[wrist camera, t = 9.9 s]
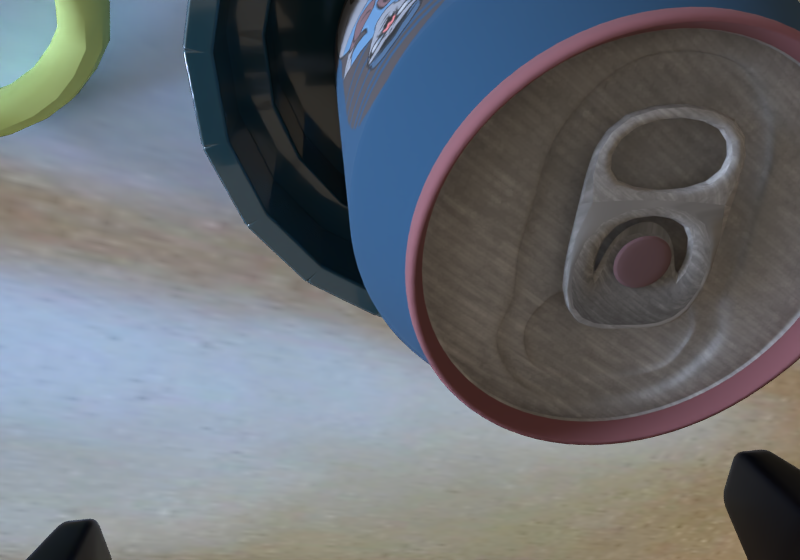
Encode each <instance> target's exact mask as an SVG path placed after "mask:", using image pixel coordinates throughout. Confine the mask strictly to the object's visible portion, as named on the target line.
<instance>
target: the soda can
mask: <svg viewBox="0 0 800 560" xmlns="http://www.w3.org/2000/svg"><path fill="white" fill-rule="evenodd" d="M334 74H335V84H336V93H337V103H338V113H339V123H340V133H341V143H342V152H343V162H344V172H345V182H346V192H347V201H348V211H349V221H350V231H351V239H352V245H353V250H354V255H355V259H356V262H357V266H358V269H359V272H360V275H361V278H362V280H363V283H364V286H365V288H366V290H367V292H368V294H369V296H370V298H371V300H372V302H373V303H374V305H375V307H376V308H377V310H378V312H379V313H380V315H381V316H382V318H383V319H384V320H385V322H386V323H387V324H388V326H389V327H390V328H391V329H392V331H393V332H394V333H395V334H396V335H397V336H398V337H399V339H400V340H401V341H402V342H404V343H405V344H406V345H407V346H408V347H409V348H410V349H411V350H412V351H413V352H414V353H416V354H417V355H418V356H419V357H421V358H422V359H423V360H424V361H426V362H427V363H428V364H430V365H431V367H432V369H433V370H434V371H435V373H436V374H437V376H438V377H439V378H440V380H441V381H442V382H443V383H444V384H445V386H446V387H447V388H448V389H449V390H450V391H451V392H452V393H453V394H454V395H455V396H456V397H457V398H458V399H459V400H460V401H462V402H463V403H464V404H465V405H467V406H468V407H469V408H470V409H472V410H473V411H475V412H476V413H478V414H479V415H481V416H482V417H484V418H485V419H487V420H489V421H491V422H493V423H494V424H496V425H498V426H501V427H503V428H505V429H507V430H510V431H512V432H515V433H518V434H521V435H524V436H528V437H531V438H535V439H539V440H544V441H549V442H555V443H563V444H576V445H602V444H615V443H624V442H630V441H636V440H642V439H646V438H651V437H655V436H659V435H663V434H666V433H670V432H673V431H676V430H679V429H682V428H685V427H688V426H690V425H693V424H695V423H698V422H700V421H703V420H705V419H707V418H709V417H711V416H714V415H716V414H718V413H720V412H722V411H724V410H726V409H727V408H729V407H731V406H733V405H735V404H737V403H738V402H740V401H742V400H743V399H745V398H747V397H748V396H750V395H751V394H753V393H754V392H756V391H758V390H759V389H761V388H762V387H763V386H765V385H766V384H768V383H769V382H770V381H772V380H773V379H775V378H776V377H777V376H779V375H780V374H781V373H782V372H784V371H785V370H786V369H788V368H789V367H790V366H791V365H792V364H794V363H795V362H796V361H797V360H798V359H799V358H800V2H799V1H798V0H345V3H344V5H343V8H342V11H341V14H340V18H339V21H338V26H337V30H336V36H335V43H334Z"/></svg>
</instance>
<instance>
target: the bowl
mask: <svg viewBox="0 0 800 560" xmlns="http://www.w3.org/2000/svg"><path fill="white" fill-rule="evenodd" d="M344 3H345V0H188V5H187V14H186V23H185V31H184V40H183V48H184V49H185V50H184V52H183V55H184V60H185V65H186V69H187V74H188V79H189V84H190V89H191V94H192V99H193V104H194V109H195V114H196V119H197V124H198V129H199V134H200V139H201V144H202V145H203V146H204V147H203V149H204V151H205V153H206V155H207V157H208V159H209V160H210V162H211V164H212V166H213V168H214V169H215V171H216V173H217V175H218V176H219V178H220V180H221V182H222V184H223V185H224V187H225V189H226V191H227V192H228V194H229V196H230V198H231V200H232V201H233V203H234V205H235V207H236V209H237V210H238V212H239V214H240V216H241V217H242V219H243V221H244V223H245V224H246V225H247V226H248V228H249V229H250V230H251V231H252V232H253V233H255V234H256V235H257V236H258V237H259V238H260V239H261V240H262V241H263V242H264V243H265V244H266V245H267V246H268V247H270V248H271V249H272V250H273V251H274V252H275V253H276V254H277V255H278V256H279V257H280V258H281V259H282V260H283V261H284V262H286V263H287V264H288V265H289V266H290V267H291V268H292V269H293V270H294V271H295V272H296V273H297V274H298V275H299V276H300V277H302V278H303V279H304V280H305V281H307V282H308V283H310V284H312V285H314V286H316V287H318V288H320V289H322V290H324V291H326V292H328V293H330V294H332V295H334V296H336V297H338V298H340V299H342V300H344V301H346V302H348V303H350V304H353V305H355V306H357V307H359V308H361V309H363V310H365V311H367V312H369V313H371V314H373V315H377V316H379V317H382V316H381V315H380V313H379V312H378V310H377V308H376V307H375V305H374V303H373V302H372V300H371V298H370V296H369V294H368V292H367V290H366V288H365V286H364V283H363V280H362V278H361V275H360V272H359V269H358V266H357V262H356V259H355V255H354V250H353V245H352V239H351V231H350V221H349V211H348V201H347V192H346V182H345V172H344V162H343V152H342V143H341V133H340V123H339V113H338V103H337V93H336V84H335V74H334V43H335V36H336V30H337V26H338V21H339V18H340V14H341V11H342V8H343V5H344Z"/></svg>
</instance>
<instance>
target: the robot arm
mask: <svg viewBox="0 0 800 560" xmlns="http://www.w3.org/2000/svg"><path fill="white" fill-rule="evenodd" d="M724 503H725V507H726V509H727V512H728V514H729V516H730V519H731V521H732V523H733V526H734V528H735V530H736V533H737V535H738V538H739V540H740V542H741V545H742V547H743V549H744V552H745V554H746V556H747V559H748V560H800V469H798V468H796V467H795V466H793V465H791V464H790V463H788V462H787V461H785V460H783V459H782V458H780V457H778V456H777V455H775V454H773V453H771V452H769V451H767V450H753V451H743V452H739V453H738V454H737V455H736V456H735V457H734V459H733V462H732V465H731V469H730V472H729V475H728V479H727V482H726V485H725V489H724ZM26 560H112V558H111V555H110V552H109V550H108V547H107V544H106V542H105V539H104V537H103V534H102V531H101V529H100V526H99V524H98V522H97V521H95V520H94V519H83V520H73V521H66V522H64V523H62V524H61V525H59V526H58V527H57V528H56V529H55V530H54V531H53V532H52V533H51V534H50V535H49V536H48V537H47V538H46V539H45V540H44V541H43V542H42V543H41V545H40V546H39V547H38V548H37V549H36V550H35V551H34V552H33V553H32V554H31V555H30V556H29V557H28V558H27V559H26Z"/></svg>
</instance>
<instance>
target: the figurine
mask: <svg viewBox="0 0 800 560" xmlns="http://www.w3.org/2000/svg"><path fill="white" fill-rule="evenodd" d="M55 5H56V16H57V29H56V31H55V34H54V36H53V38H52V41H51V43H50V45H49V47H48V48H47V50H46V51H45V52H44V54H43V55H42V56H41V58H40V59H39V61H38V62H37V63H36V65H35V66H34V67H33V68H32V69H31V70H29V71H28V72H27V73H25V74H24V75H23V76H21V77H20V78H19V79H17V80H16V81H15V82H13V83H12V84H10V85H7V86H5V87H2V88H0V137H2V136H6V135H10V134H13V133H15V132H17V131H20V130H22V129H24V128H26V127H29V126H31V125H33V124H35V123H37V122H40V121H42V120H44V119H46V118H48V117H50V116H51V115H52V114H54V113H55V112H56V111H57V110H59V109H60V108H61V107H63V106H64V105H65V104H67V103H68V102H69V101H71V100H72V99H73V98H74V97H75V96H76V95H77V94H78V93H79V92H80V90H81V89H82V88H83V86H84V85H85V84H86V82H87V81H88V80H89V78H90V77H91V76H92V74H93V73H94V72H95V70H96V69H97V67H98V65H99V63H100V60H101V58H102V56H103V54H104V52H105V49H106V47H107V45H108V43H109V41H110V2H109V0H55Z"/></svg>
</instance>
